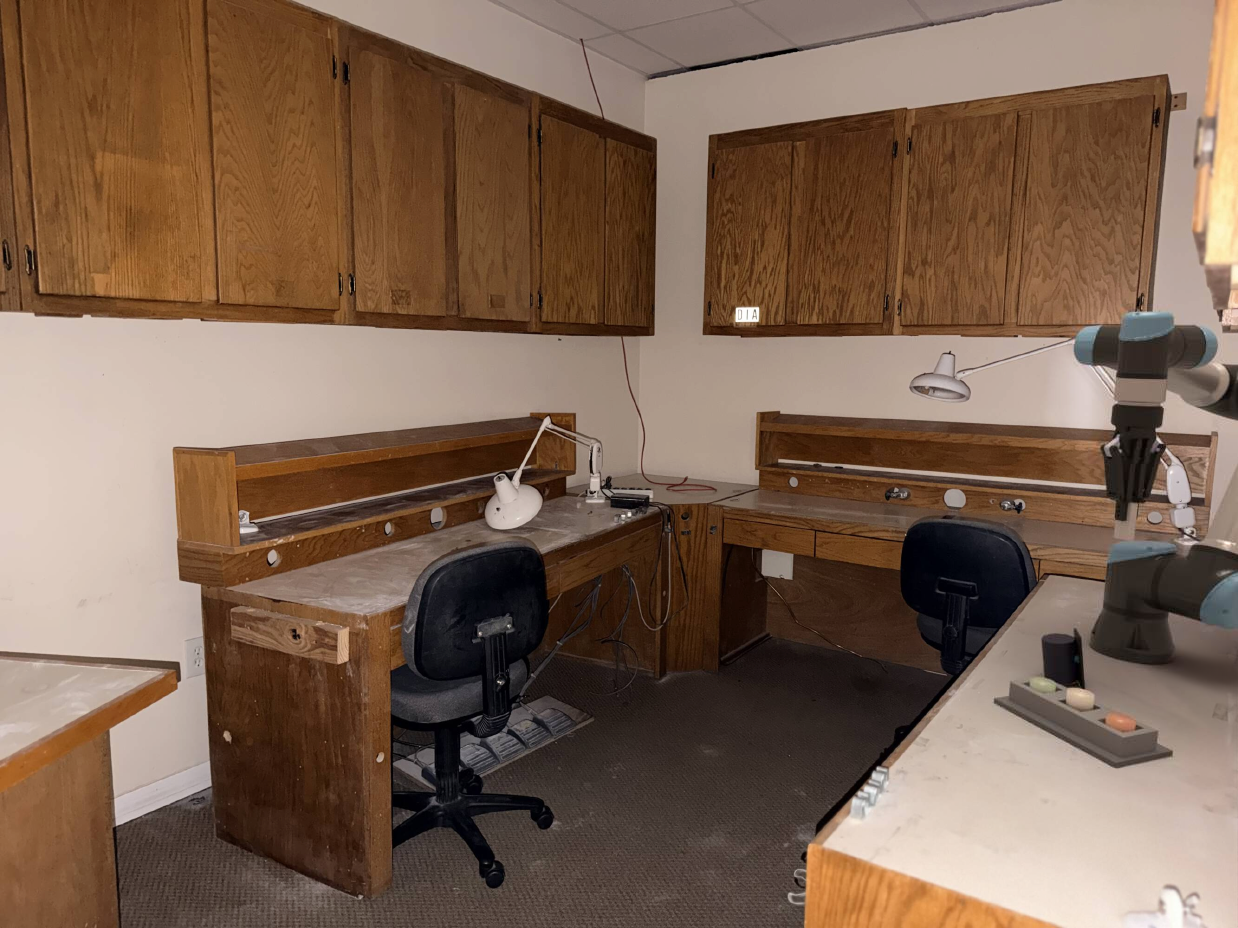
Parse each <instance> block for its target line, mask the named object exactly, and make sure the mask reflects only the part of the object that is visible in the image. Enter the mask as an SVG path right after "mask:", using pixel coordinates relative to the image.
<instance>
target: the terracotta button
mask: <svg viewBox="0 0 1238 928" xmlns="http://www.w3.org/2000/svg"><path fill="white" fill-rule="evenodd" d="M1120 713H1121V712H1120ZM1120 713H1108V714H1107V715H1106V723H1105V724H1106V725H1108V726H1110V727H1112V728H1114V729H1116V730H1118V731H1120V732H1123V733H1124V732H1129V731H1134V730H1135V726H1136V719H1135V718H1133V717H1132V716H1129V715H1128V714H1124V713H1122V714H1120Z"/></svg>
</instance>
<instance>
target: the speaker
mask: <svg viewBox="0 0 1238 928" xmlns="http://www.w3.org/2000/svg"><path fill="white" fill-rule="evenodd" d="M1040 640H1041V652H1042V663H1043V664H1042V665H1043V677H1045V678H1047V679H1050V680H1052V681H1054V682H1056V683H1058V684H1060V685H1062V686H1068V685H1069V686H1070V685H1073V684H1076V683H1078V685H1079V687H1080V689H1084V690H1086V684H1085V681H1086V680H1085V671H1084V670H1085V667H1084V655H1083V654H1084V653H1083V640H1082V636H1081V635H1080V633H1079V630H1078V629H1077V628H1075V627H1073V635H1070V634H1067V633H1056V632H1055V633H1054V632H1053V633H1048V634H1044V635H1042V637H1041V638H1040Z"/></svg>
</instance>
